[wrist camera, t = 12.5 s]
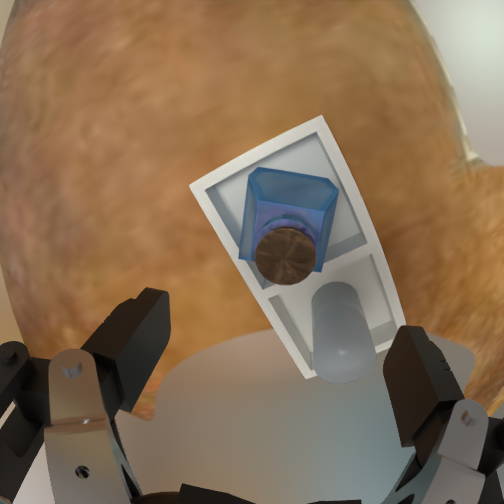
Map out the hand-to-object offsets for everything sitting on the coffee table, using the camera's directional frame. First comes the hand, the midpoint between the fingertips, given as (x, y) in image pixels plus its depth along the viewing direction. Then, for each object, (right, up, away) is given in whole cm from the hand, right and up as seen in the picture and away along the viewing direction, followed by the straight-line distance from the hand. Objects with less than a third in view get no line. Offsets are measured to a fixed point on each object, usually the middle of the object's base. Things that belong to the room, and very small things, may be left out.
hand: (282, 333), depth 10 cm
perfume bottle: (+2, +7, +17) cm, 18 cm away
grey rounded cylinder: (+7, -3, +20) cm, 21 cm away
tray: (+5, +2, +19) cm, 20 cm away
